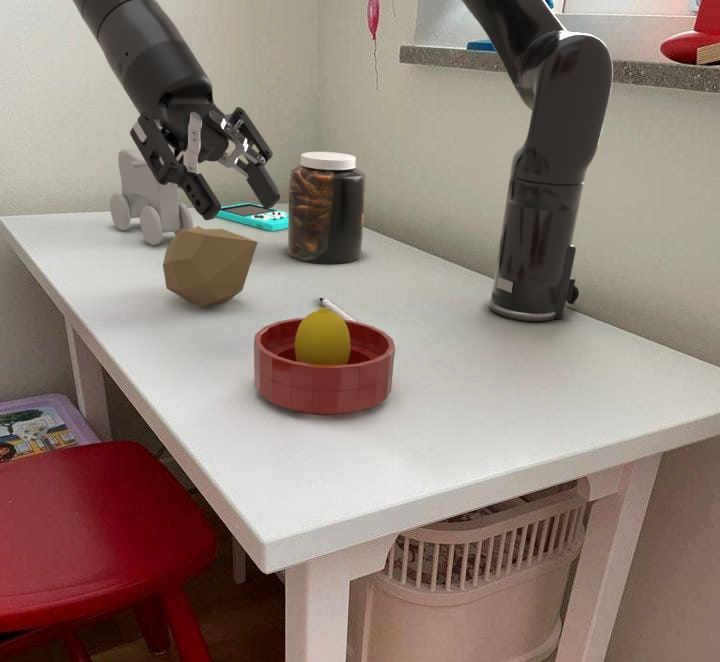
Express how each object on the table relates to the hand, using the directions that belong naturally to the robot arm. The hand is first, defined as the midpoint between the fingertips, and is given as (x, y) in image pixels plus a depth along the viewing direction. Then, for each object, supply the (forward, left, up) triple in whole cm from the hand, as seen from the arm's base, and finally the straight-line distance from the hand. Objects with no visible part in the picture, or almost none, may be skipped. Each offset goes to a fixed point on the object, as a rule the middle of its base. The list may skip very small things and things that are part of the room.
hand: (245, 209), depth 75 cm
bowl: (-8, +6, -16) cm, 19 cm away
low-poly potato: (+7, -23, -17) cm, 29 cm away
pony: (+19, -54, -17) cm, 59 cm away
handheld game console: (+3, -71, -17) cm, 73 cm away
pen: (-12, -15, -17) cm, 25 cm away
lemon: (-8, +6, -16) cm, 19 cm away
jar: (-9, -48, -17) cm, 51 cm away
